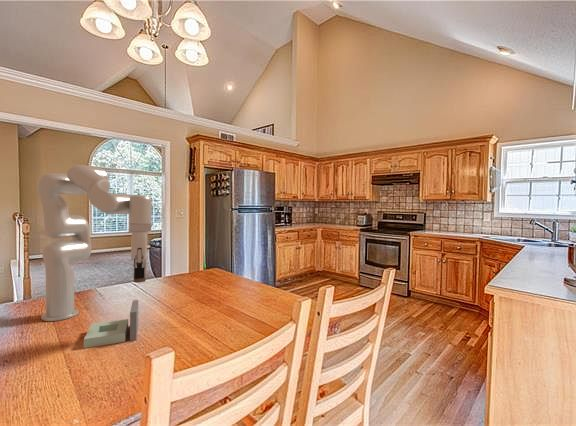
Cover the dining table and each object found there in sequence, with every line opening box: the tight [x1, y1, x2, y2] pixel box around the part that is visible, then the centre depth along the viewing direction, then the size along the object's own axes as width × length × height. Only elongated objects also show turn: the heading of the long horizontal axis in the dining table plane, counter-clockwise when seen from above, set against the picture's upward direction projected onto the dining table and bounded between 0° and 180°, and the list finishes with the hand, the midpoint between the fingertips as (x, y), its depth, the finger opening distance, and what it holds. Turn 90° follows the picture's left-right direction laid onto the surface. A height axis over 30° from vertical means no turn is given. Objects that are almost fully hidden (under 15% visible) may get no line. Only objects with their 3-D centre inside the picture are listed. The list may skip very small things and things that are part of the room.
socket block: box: [83, 318, 129, 349], centre depth 106 cm, size 14×12×3 cm
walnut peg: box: [133, 257, 147, 284], centre depth 111 cm, size 4×4×10 cm
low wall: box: [129, 299, 139, 342], centre depth 110 cm, size 14×2×10 cm, turn 24°
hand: (139, 276), depth 111 cm, fingers closed on walnut peg, 4 cm apart
